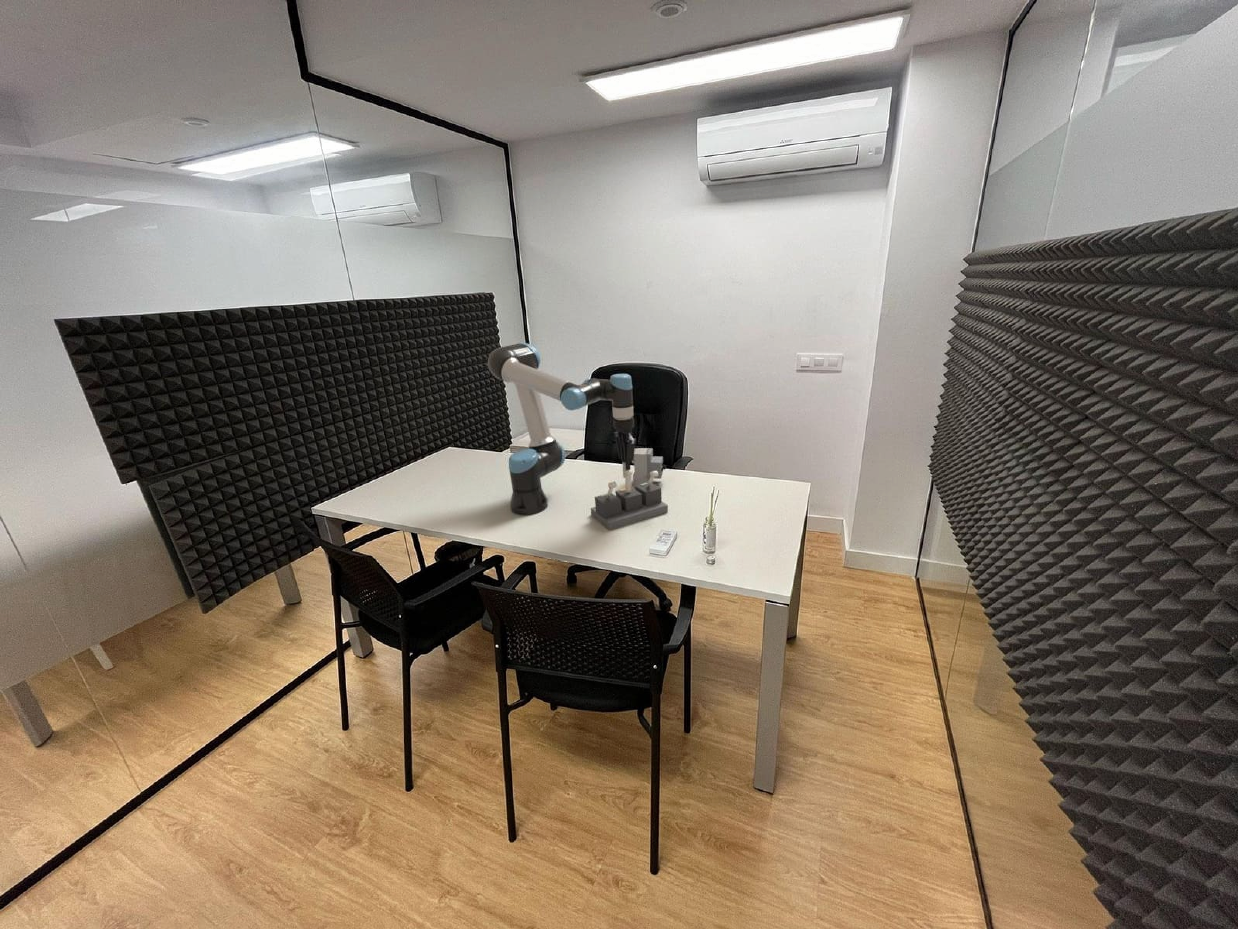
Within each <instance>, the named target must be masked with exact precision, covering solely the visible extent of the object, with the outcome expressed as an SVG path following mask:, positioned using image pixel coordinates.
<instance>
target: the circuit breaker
mask: <svg viewBox="0 0 1238 929" xmlns="http://www.w3.org/2000/svg"><path fill="white" fill-rule="evenodd" d="M631 463H632V464H633V469H634V472H633V473H632V484H633V485H632V486H637V485H640V484H643V483H648V481H649V479H650V477H651V476H650V472H652V471H657V472H658V476H656V477H654V479H653V481H652V483H653V482H654V480H655V479H656V480H658V479H662V477H663V473H664V470H665V471H666V469H667V464H664V456H657V455H655V456H654V449H653V448H652V447H651V448H649V447H648V448H647V447H646V448H642V447H641V448H639V447H638V448H636V447H635V450H634V460H633V461H631ZM653 484H654V483H653Z"/></svg>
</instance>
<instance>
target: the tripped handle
mask: <svg viewBox="0 0 1238 929" xmlns="http://www.w3.org/2000/svg"><path fill="white" fill-rule="evenodd" d="M624 474H625V478H624V479H625V484H624V485H625V487H624V489H625V491H626V492H627V493H628V492H631V487H632V476H633V470H632V469H631V468H630V470H625V471H624Z"/></svg>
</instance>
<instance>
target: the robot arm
mask: <svg viewBox="0 0 1238 929" xmlns="http://www.w3.org/2000/svg"><path fill="white" fill-rule="evenodd" d="M540 364H541V356H540V353H539V351H538V350H537V348H536V347H535V346H533V345H532V344H529V343H527V342H523V343H521V342H520V343H516V344H510V345H505V346H500V347H497V348H495V349H494V350H492V351H491V352H490V353H489V355H488V359H487V366H488V370H489V372H490V373H491V374H492V375H493V376H494V377H495V378H497V379H498V380H500V381H503V382H505V383H507V384H510V383H512V384H514V386H515V388H516V392H517V396H518V399H519V403H520V407H521V409H522V413H523V418H524V420H525V425H526V427H527V432H528V434H529V438H530V442H529V443H528V448H524V449H520V450H517V451H515V452H513V453H512V454H511V455H510V456H509V457H508V470H509V475H510V476H509V478H510V481H511V488H512V493H511V499H510V504H509V506H510V510H511V512H512V513H514V514H516V515H519V516H520V515H521V516H524V515H525V516H527V515H529V516H530V515H534V514H538V513H541V512H542V511H544V510H545V509H547V507H548V498H547V496H546V494H545V492H544V490H543V487H542V480H541V478H543V477H545V476H547V475H548V474H551V473H552V472H555V471H557V470H558V469H559V468H561V467H562V466H563V465H564V463H565V461H566V451H565V449H564V446H563V445H562V444H561V443H560V442H558V441H557V440H556V438H555V436H552V433H551V431H550V427H549V424H548V419H547V417H546V415H547V414H546V412H545V410H544V409H545V408H544V405H543V401H542V397H541V395H544V396H546V397H550V398H552V399H553V400H556V401H559V402H561V404H562V406H563V407H564V408H565V409H566V410H568V411H575V410H579V409H582V408H584V407H587V406H588V405H591V404H593V403H594V404H595V403H596V402H599V401H611V405H612V406H611V407H612V417H613V419H612V420H613V422H612V423H613V428H614V429H615V430H616V431H615V432H613V436H614V439H615V444H616V449H617V455H618V458H619V459H620V460H621V461H622V463H621V464H622V475H623V476H622V478H624V479H625V474H624V471H625V470H630V469H631V462H632V461H633V460H634V450H635V448H636V443H637V439H636V438H633V432H632V429H633V428H634V427H635V418H634V401H633V400H634V398H633V383H632V382H633V380H632V376H631V375H630V374H628V373H616V374H612V375H611V376H610V379H603V378H601V379H600V378H595V377H593V378H586V379H584V381H583V382H582V384H576V383H573V382H570V381H568V380H565V379H562V378H561V377H558V376H556V375H553V374H549V373H547V372H544V371H542V370H539V367H540Z"/></svg>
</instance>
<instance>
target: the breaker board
mask: <svg viewBox="0 0 1238 929" xmlns="http://www.w3.org/2000/svg"><path fill="white" fill-rule="evenodd" d="M650 476H651V477H650V479H649V481H648V483H643V484H640V485H637V486H636V485H634V486H635V488H633V487H632V486H631V492H628V493H627V492H626V491H625V488H622V489H618V490H616V491H615V494H614V493H613V490H614V489H615V488H617V487H618V484H617V482H616V481H612V482H611V481H610V482H608V483H607V486H608V490H607V492H606V493H604V494H603V493H602V494H600V495H597V496H594V504H595V506H593V507H590V515H591V516H592V517H593V518H594V519H596V521H597V522H599V523H600V524H601V525H602V526H603V527H605V528H606V529H607V530H608V531H611V530H614V529H618V528H621V527H624V526H627V525H631V524H634V523H637V522H640V521H644V520H648V519H650V518H652V517H656V516H659V515H662V514H663V515H664V514H666V513H668V512H669V509H668V508H669V507H668V504H667V503H665V502H664V501H662V499H663V498H662V488H661V487H660V486H658V485H657V484H655V483H652V481H653V482H654V480H655V479H654V477H656V476H658V472H657V471H652V472H650ZM653 479H654V480H653Z"/></svg>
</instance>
